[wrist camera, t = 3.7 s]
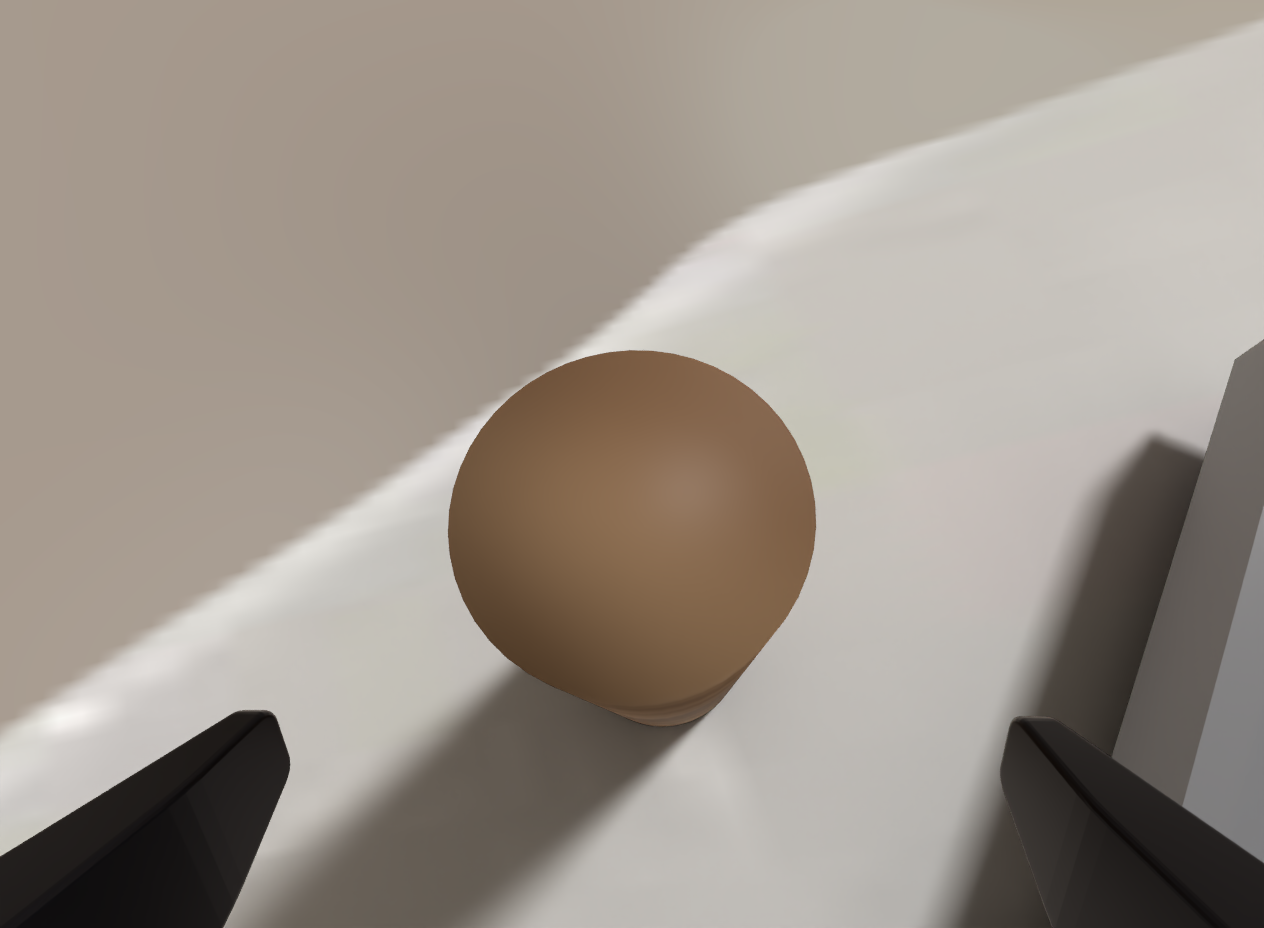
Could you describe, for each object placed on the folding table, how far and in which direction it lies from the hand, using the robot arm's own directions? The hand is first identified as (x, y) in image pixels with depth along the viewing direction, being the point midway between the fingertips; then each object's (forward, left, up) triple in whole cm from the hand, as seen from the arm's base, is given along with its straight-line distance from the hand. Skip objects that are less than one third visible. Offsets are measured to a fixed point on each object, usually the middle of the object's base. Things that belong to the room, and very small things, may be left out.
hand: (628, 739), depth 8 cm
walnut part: (+2, +1, -10) cm, 10 cm away
